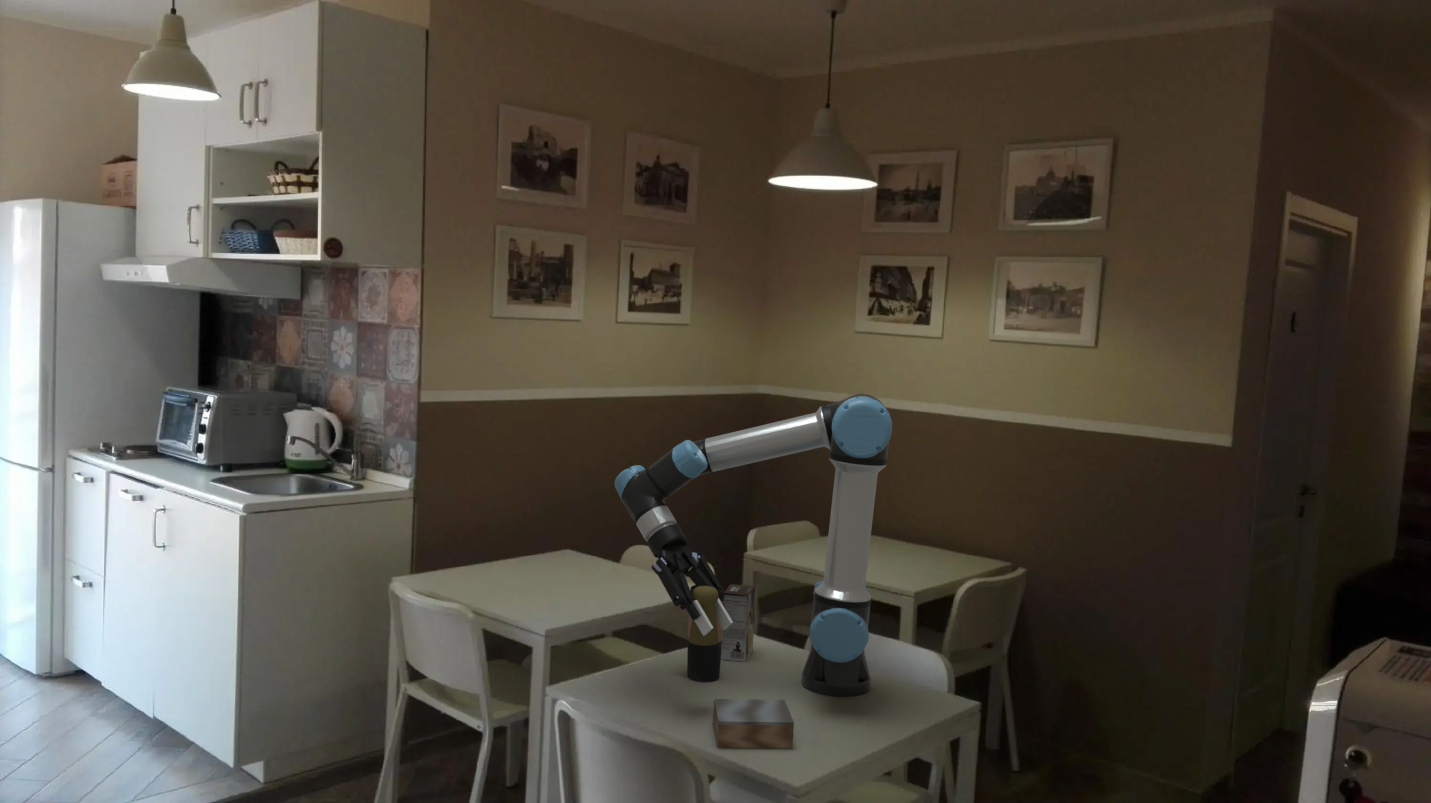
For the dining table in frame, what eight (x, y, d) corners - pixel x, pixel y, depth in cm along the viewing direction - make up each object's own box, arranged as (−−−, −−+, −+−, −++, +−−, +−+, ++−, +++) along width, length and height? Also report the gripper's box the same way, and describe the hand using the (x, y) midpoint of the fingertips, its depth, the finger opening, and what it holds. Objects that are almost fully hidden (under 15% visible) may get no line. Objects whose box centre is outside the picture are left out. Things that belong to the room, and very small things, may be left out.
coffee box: (727, 648, 262) (730, 583, 261) (753, 651, 261) (756, 585, 259) (719, 659, 253) (722, 592, 252) (746, 662, 252) (749, 594, 250)
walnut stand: (783, 724, 213) (784, 699, 213) (792, 748, 201) (793, 722, 201) (712, 723, 212) (713, 698, 212) (717, 747, 200) (718, 721, 200)
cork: (689, 635, 220) (691, 582, 219) (719, 637, 219) (721, 584, 219) (687, 644, 214) (689, 589, 213) (717, 646, 213) (720, 591, 213)
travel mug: (699, 668, 245) (703, 582, 244) (727, 676, 241) (731, 588, 239) (679, 677, 239) (682, 587, 238) (707, 684, 235) (710, 594, 233)
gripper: (682, 538, 232) (737, 630, 223) (620, 549, 219) (676, 648, 209) (701, 517, 228) (758, 610, 219) (639, 527, 215) (697, 627, 205)
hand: (718, 628), depth 214 cm, fingers closed on cork, 5 cm apart
